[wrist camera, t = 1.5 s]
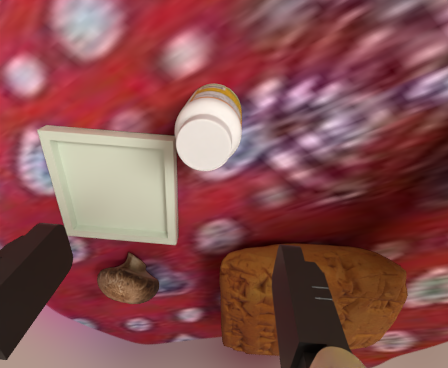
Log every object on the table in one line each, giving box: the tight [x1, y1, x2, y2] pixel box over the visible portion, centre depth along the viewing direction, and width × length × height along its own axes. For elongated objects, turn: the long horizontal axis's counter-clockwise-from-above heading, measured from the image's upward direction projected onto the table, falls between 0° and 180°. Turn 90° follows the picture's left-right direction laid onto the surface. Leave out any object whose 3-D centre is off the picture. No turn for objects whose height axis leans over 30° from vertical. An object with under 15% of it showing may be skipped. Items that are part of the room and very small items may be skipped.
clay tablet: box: [219, 243, 408, 356], centre depth 35 cm, size 22×17×8 cm
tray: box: [37, 125, 178, 245], centre depth 32 cm, size 14×14×2 cm
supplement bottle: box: [175, 84, 242, 171], centre depth 24 cm, size 5×5×10 cm
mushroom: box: [97, 252, 159, 304], centre depth 37 cm, size 8×8×6 cm
